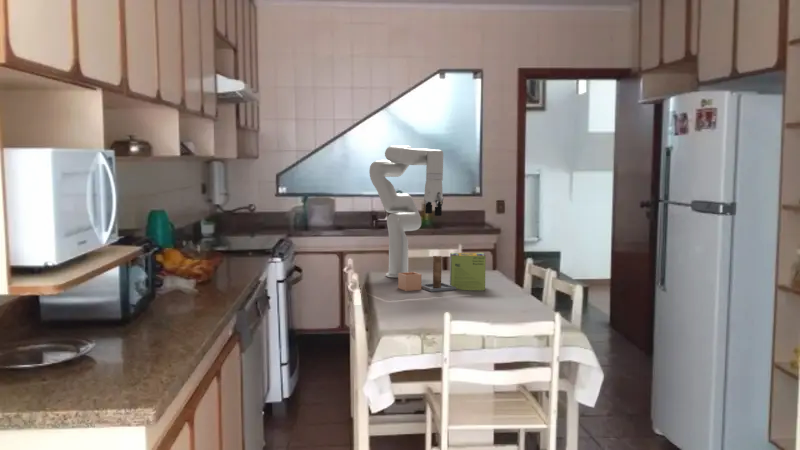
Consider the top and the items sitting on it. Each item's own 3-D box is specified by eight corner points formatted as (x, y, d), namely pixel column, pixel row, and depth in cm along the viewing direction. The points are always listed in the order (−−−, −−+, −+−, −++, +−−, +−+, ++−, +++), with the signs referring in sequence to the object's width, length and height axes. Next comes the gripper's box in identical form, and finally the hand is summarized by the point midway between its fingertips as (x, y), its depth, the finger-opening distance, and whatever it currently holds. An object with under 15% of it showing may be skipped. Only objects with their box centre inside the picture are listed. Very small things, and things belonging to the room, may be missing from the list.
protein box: (485, 290, 320) (486, 255, 319) (450, 290, 321) (451, 255, 319) (483, 286, 331) (483, 252, 330) (449, 286, 331) (449, 252, 330)
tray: (418, 289, 322) (418, 284, 322) (442, 287, 327) (442, 282, 327) (431, 293, 312) (431, 288, 311) (455, 291, 317) (455, 286, 316)
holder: (398, 289, 321) (398, 272, 321) (413, 288, 324) (413, 271, 324) (405, 292, 314) (405, 275, 314) (421, 291, 318) (421, 274, 317)
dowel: (431, 287, 320) (431, 255, 319) (438, 286, 322) (439, 255, 321) (435, 288, 317) (435, 256, 316) (442, 288, 319) (442, 256, 317)
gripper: (418, 175, 337) (417, 212, 339) (435, 178, 321) (434, 216, 323) (433, 175, 340) (432, 212, 342) (450, 178, 324) (449, 216, 326)
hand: (433, 214), depth 333 cm, fingers open, 9 cm apart
